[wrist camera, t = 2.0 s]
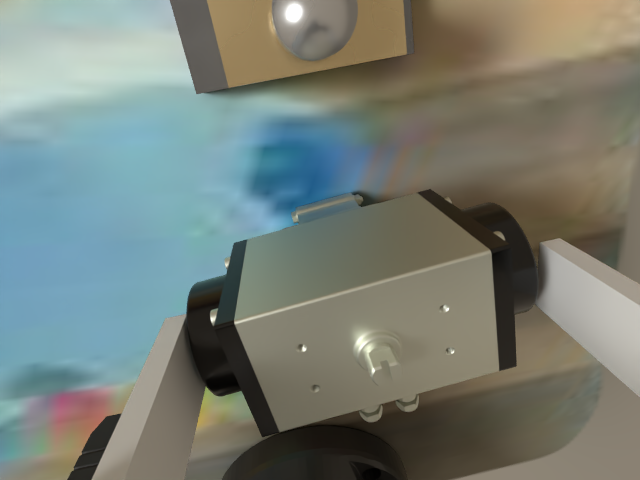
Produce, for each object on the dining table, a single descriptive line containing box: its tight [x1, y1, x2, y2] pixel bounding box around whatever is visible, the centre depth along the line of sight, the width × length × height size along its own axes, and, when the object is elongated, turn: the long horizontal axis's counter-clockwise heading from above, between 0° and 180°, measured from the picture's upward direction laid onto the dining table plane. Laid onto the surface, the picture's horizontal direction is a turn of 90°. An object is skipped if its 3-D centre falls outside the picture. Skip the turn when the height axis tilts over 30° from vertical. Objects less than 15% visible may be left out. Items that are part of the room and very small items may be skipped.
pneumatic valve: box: [186, 189, 538, 437], centre depth 16 cm, size 6×12×12 cm, turn 104°
